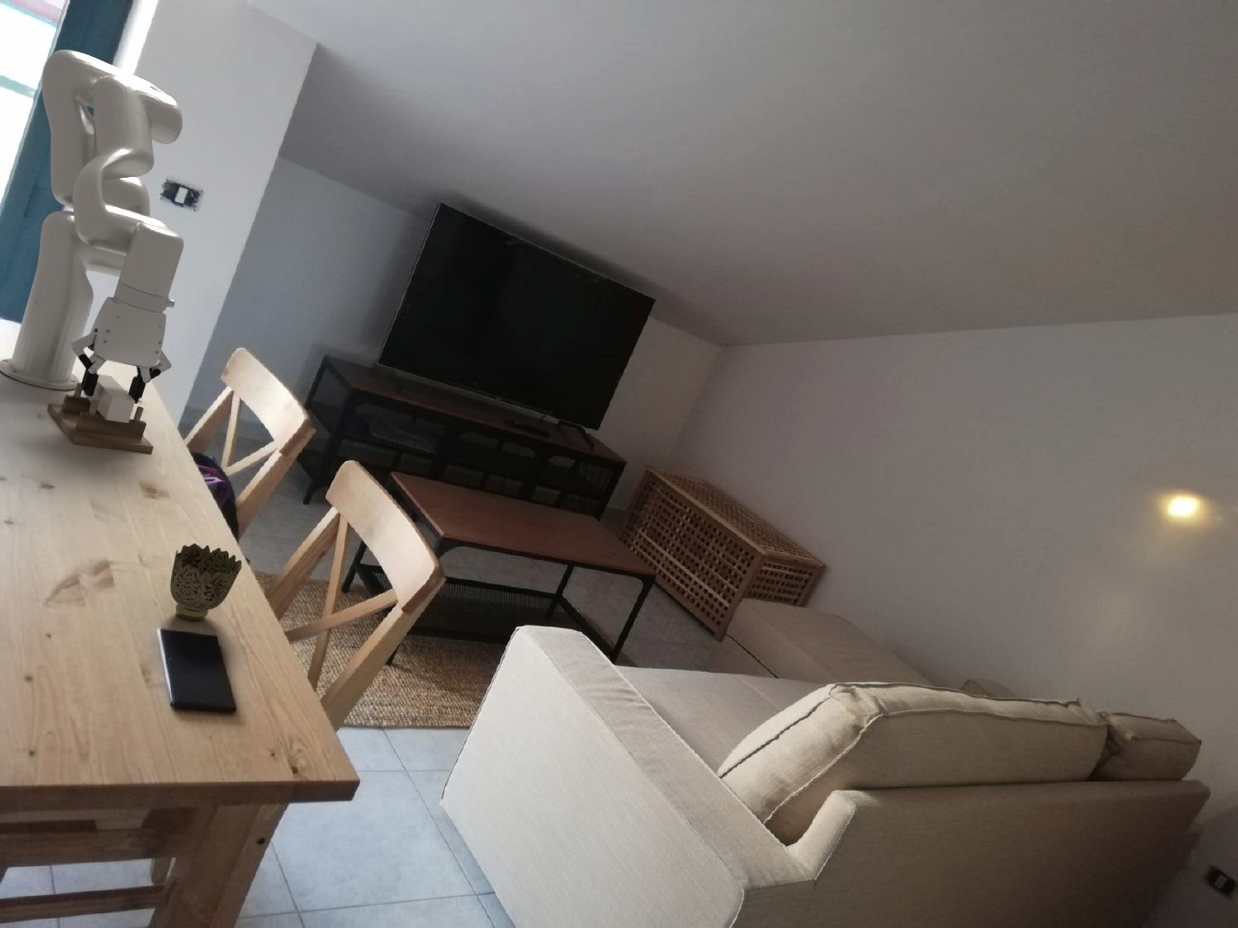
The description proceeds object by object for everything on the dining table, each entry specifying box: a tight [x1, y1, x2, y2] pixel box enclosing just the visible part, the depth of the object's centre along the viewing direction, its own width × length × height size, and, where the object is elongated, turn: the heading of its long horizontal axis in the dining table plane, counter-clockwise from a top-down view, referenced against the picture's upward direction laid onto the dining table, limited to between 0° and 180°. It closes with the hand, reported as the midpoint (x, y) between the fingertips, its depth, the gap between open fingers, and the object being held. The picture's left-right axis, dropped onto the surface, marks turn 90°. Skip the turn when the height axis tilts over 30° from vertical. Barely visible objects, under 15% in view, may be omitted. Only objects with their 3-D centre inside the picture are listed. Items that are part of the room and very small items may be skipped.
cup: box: [169, 543, 243, 622], centre depth 104 cm, size 8×7×8 cm
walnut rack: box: [47, 381, 154, 454], centre depth 147 cm, size 15×12×7 cm
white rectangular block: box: [83, 373, 135, 423], centre depth 147 cm, size 12×4×4 cm, turn 49°
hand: (110, 396), depth 146 cm, fingers open, 6 cm apart
